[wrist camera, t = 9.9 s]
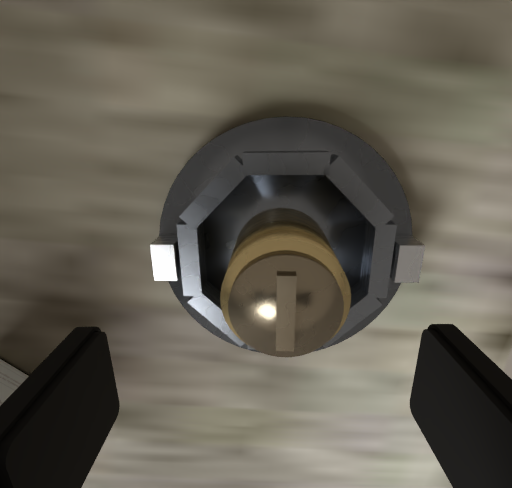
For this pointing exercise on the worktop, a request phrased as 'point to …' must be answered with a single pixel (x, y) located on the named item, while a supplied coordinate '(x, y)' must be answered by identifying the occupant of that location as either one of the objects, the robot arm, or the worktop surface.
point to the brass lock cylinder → (284, 285)
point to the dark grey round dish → (294, 197)
